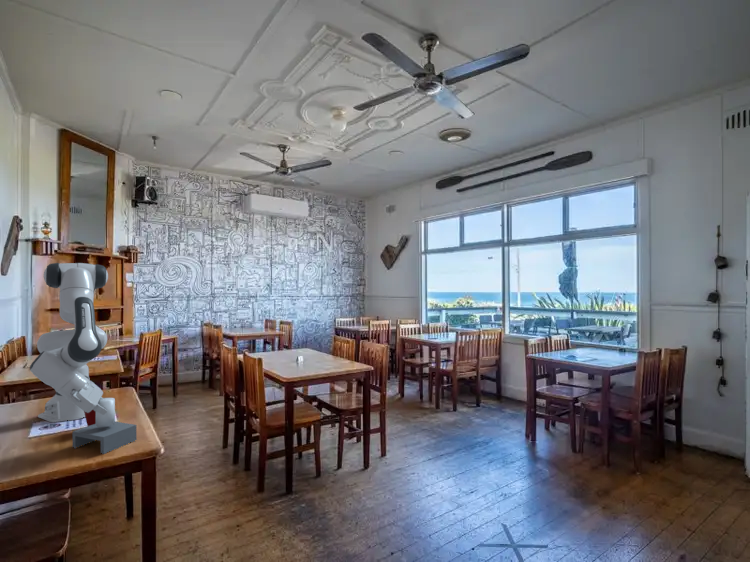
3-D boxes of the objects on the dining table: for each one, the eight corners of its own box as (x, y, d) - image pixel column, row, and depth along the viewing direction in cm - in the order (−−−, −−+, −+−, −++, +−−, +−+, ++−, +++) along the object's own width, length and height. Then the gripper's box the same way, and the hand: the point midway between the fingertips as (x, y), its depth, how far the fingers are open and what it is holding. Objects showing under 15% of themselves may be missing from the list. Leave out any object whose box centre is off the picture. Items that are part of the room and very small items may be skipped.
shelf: (72, 447, 151) (72, 431, 151) (106, 435, 163) (106, 420, 163) (103, 454, 145) (103, 437, 145) (136, 440, 158) (136, 424, 158)
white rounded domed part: (91, 426, 152) (91, 401, 152) (106, 420, 158) (106, 397, 158) (104, 427, 151) (104, 403, 151) (118, 422, 156) (118, 398, 156)
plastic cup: (84, 427, 172) (84, 398, 172) (114, 424, 176) (114, 396, 176) (76, 436, 161) (76, 406, 161) (109, 433, 166) (109, 403, 165)
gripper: (77, 386, 142) (110, 411, 146) (87, 374, 160) (116, 396, 164) (61, 401, 140) (95, 425, 144) (73, 387, 158) (103, 409, 162)
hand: (107, 410), depth 155 cm, fingers closed on white rounded domed part, 6 cm apart
